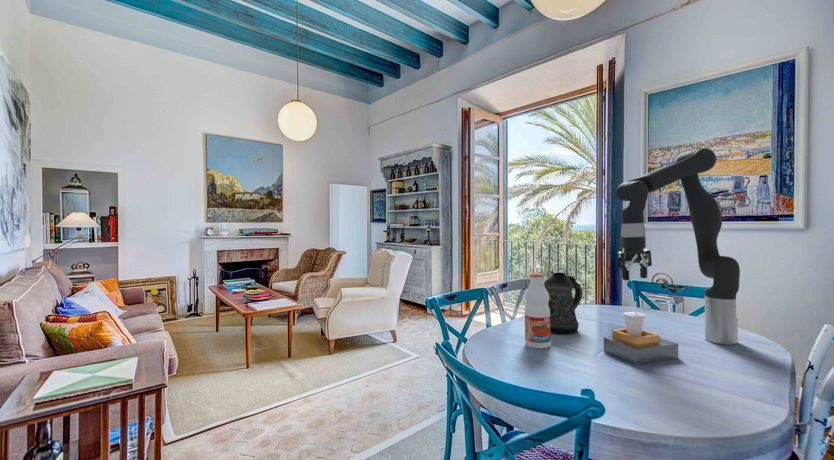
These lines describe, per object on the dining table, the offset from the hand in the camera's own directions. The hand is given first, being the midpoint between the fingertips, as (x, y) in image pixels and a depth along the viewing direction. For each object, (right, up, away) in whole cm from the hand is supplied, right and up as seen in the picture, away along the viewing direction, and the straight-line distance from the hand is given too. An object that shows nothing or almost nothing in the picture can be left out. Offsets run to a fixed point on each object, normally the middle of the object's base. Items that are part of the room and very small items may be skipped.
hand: (634, 279), depth 130 cm
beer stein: (-17, -26, +27) cm, 41 cm away
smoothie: (-4, -21, -6) cm, 23 cm away
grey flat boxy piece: (0, -26, -5) cm, 26 cm away
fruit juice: (-34, -27, +6) cm, 44 cm away
